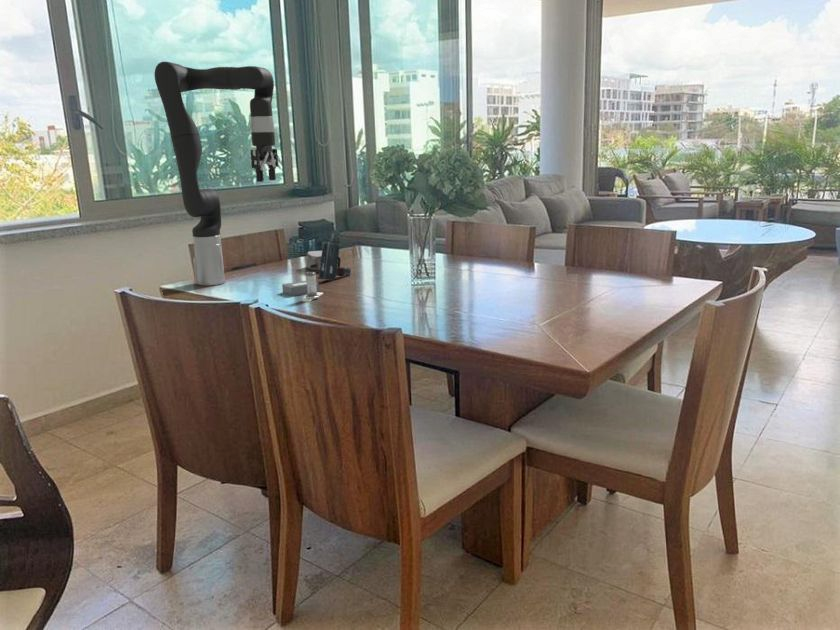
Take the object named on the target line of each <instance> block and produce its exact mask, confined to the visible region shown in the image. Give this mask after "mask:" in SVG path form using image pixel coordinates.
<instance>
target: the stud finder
mask: <svg viewBox="0 0 840 630" xmlns="http://www.w3.org/2000/svg"><path fill="white" fill-rule="evenodd" d="M281 287H282V288H281V289H282V293H283V294H285V295H288V296H290V297H295V296H303V295H307V282H306V280H303V281H295V282H288V283H283V284H281ZM316 288H317V292H320V283H318V282H316Z"/></svg>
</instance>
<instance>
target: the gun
mask: <svg viewBox="0 0 840 630" xmlns="http://www.w3.org/2000/svg"><path fill="white" fill-rule="evenodd" d="M335 236H336V235H335V233H334V232H331V234H330V238H329V239H328V241H323V242H322V247H321V251H322V255H321V259H320V262H321V264H320V272H318V273H319V274H318V276H317V279H318V280H326V281H335V279H336V276H338V277H345V276H347V277H349V276H351V270H352V269H351V268H349V267H346V268H345V267H341V262H342V261H341V257H340V244H339V243H335V242H336V239H335Z"/></svg>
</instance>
